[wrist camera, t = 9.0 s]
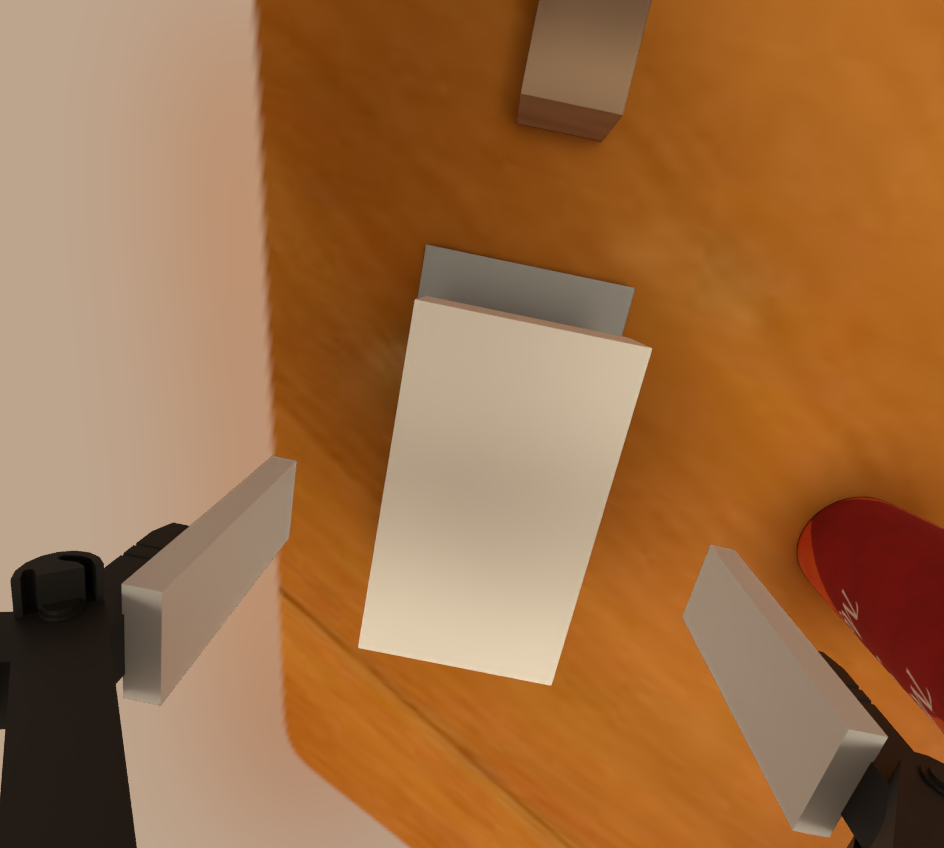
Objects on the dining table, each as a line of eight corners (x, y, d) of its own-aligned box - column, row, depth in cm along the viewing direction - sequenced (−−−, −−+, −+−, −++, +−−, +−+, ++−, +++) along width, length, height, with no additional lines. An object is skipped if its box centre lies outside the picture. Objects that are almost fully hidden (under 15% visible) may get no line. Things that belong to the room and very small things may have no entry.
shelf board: (426, 295, 20) (414, 299, 17) (629, 337, 20) (652, 348, 17) (374, 602, 24) (358, 647, 21) (544, 635, 24) (551, 685, 21)
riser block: (558, -91, 21) (573, -172, 17) (653, -70, 21) (688, -147, 17) (516, 123, 23) (520, 93, 20) (601, 141, 23) (622, 115, 20)
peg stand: (429, 245, 25) (409, 236, 19) (628, 287, 25) (670, 291, 19) (376, 563, 30) (347, 634, 24) (542, 596, 30) (554, 675, 24)
